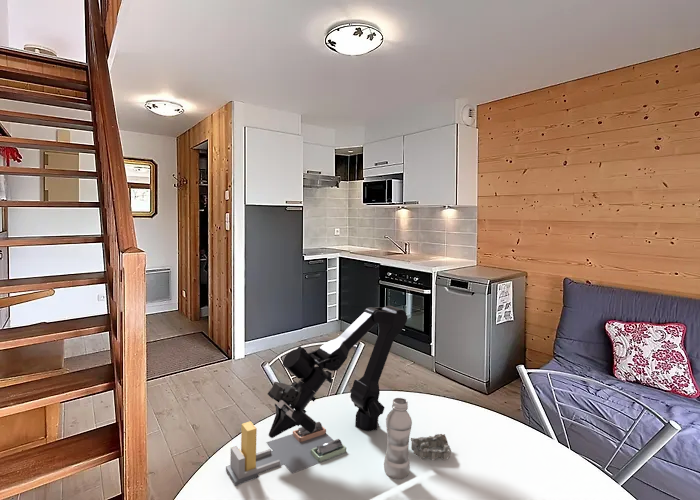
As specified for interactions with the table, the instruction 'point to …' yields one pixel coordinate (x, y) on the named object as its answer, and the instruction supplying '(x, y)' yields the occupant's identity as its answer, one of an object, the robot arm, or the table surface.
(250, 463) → the tall mustard pillar
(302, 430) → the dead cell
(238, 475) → the checker
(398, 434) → the plastic bottle
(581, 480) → the table surface
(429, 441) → the egg carton
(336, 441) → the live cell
